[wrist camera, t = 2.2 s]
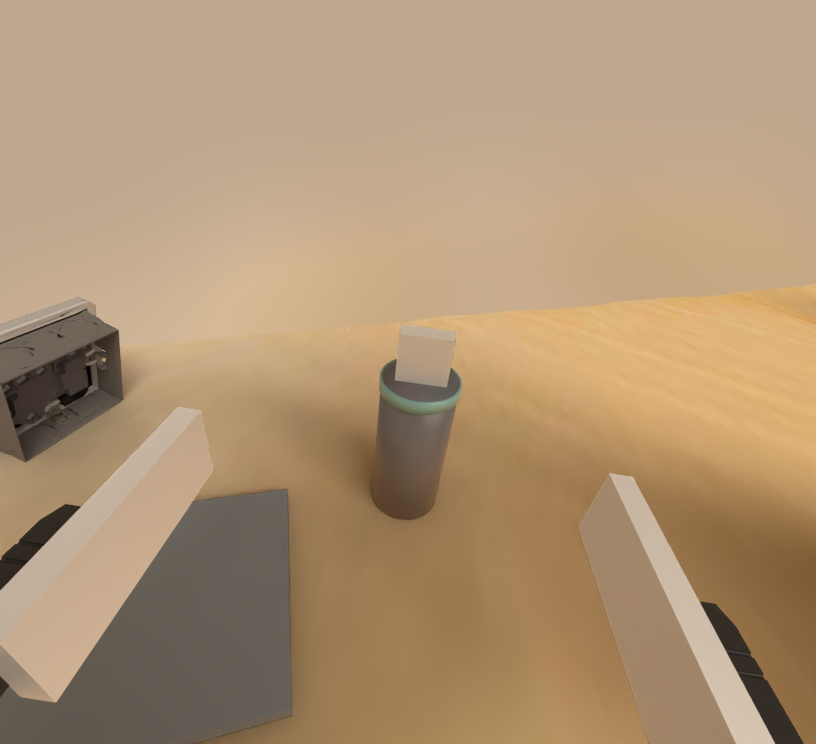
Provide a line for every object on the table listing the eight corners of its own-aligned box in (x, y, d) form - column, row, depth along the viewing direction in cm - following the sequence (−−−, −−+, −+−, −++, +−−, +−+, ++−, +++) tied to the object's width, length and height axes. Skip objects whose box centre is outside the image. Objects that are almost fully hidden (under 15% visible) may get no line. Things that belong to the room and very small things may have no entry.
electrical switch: (96, 384, 34) (65, 287, 29) (146, 403, 34) (124, 308, 29) (-31, 456, 27) (-104, 342, 22) (31, 483, 26) (-29, 372, 21)
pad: (287, 496, 27) (287, 488, 26) (291, 715, 17) (290, 709, 17) (79, 525, 23) (75, 516, 23) (-59, 815, 14) (-72, 810, 13)
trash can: (437, 471, 30) (470, 319, 23) (436, 525, 26) (474, 361, 19) (376, 463, 30) (389, 308, 23) (365, 515, 26) (377, 347, 19)
